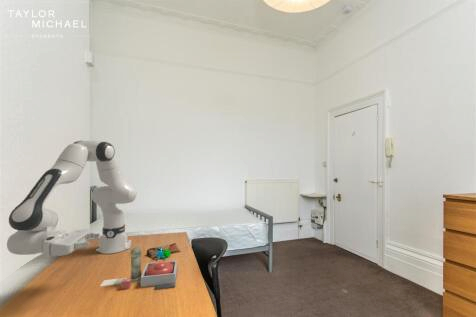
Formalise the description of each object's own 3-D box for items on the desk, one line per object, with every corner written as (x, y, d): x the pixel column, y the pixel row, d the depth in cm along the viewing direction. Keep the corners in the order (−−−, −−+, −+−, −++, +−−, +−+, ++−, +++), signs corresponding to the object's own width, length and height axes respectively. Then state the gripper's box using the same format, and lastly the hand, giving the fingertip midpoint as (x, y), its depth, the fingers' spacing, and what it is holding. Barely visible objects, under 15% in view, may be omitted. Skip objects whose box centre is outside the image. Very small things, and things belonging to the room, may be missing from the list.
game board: (107, 276, 102) (108, 265, 102) (177, 270, 109) (177, 259, 109) (92, 296, 87) (93, 283, 87) (175, 287, 93) (175, 275, 93)
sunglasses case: (151, 259, 121) (149, 247, 124) (147, 262, 126) (145, 250, 128) (181, 251, 133) (179, 240, 136) (177, 254, 137) (175, 243, 140)
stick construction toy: (158, 260, 115) (154, 246, 119) (148, 266, 116) (145, 252, 120) (173, 258, 125) (169, 245, 129) (164, 264, 127) (161, 251, 130)
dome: (149, 271, 104) (149, 258, 104) (173, 269, 106) (173, 256, 106) (144, 283, 93) (144, 269, 93) (171, 281, 95) (172, 266, 96)
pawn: (131, 277, 99) (131, 246, 100) (143, 276, 100) (143, 245, 101) (128, 282, 95) (128, 250, 95) (140, 281, 95) (140, 249, 96)
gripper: (70, 240, 102) (104, 238, 104) (41, 260, 82) (83, 257, 84) (71, 226, 102) (104, 225, 104) (41, 242, 82) (83, 240, 84)
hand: (94, 239), depth 94 cm, fingers open, 8 cm apart
